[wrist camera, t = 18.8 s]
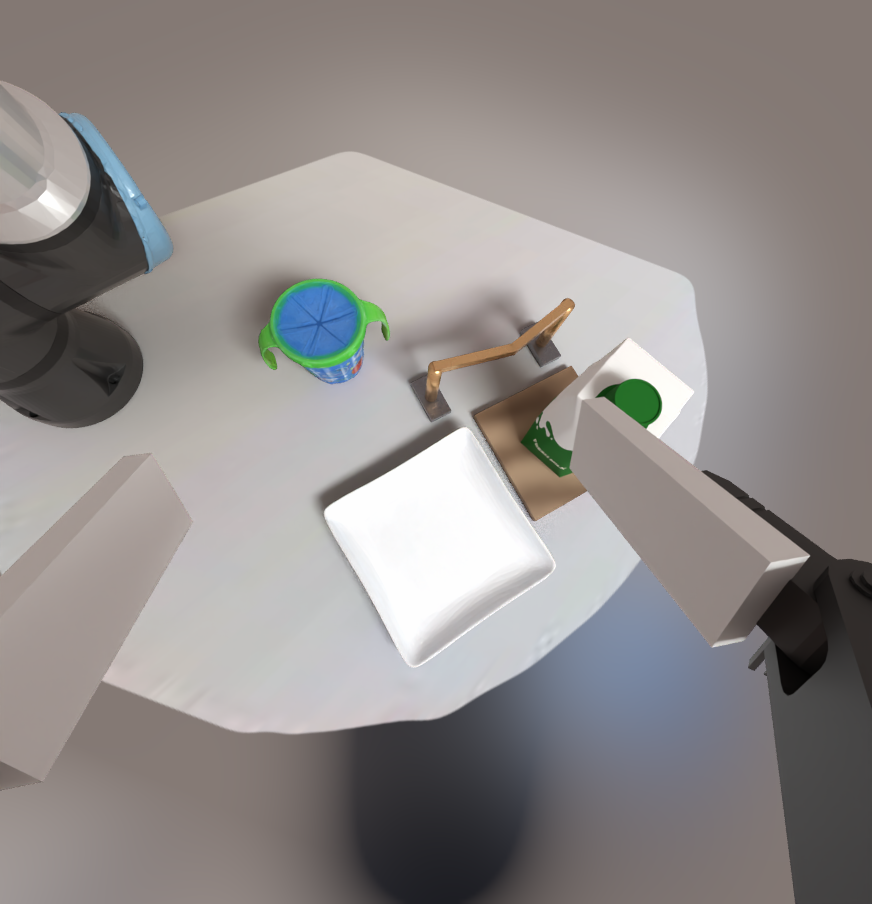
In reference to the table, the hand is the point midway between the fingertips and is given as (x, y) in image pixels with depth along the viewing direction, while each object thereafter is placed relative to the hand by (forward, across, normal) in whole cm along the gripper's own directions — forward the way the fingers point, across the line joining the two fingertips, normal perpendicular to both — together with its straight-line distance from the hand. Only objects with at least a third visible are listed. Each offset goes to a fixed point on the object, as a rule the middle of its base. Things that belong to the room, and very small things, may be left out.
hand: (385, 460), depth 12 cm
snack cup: (+41, -7, -10) cm, 43 cm away
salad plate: (+23, +4, -29) cm, 37 cm away
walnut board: (+30, +21, -21) cm, 42 cm away
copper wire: (+38, +14, -13) cm, 42 cm away
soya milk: (+29, +22, -20) cm, 41 cm away
